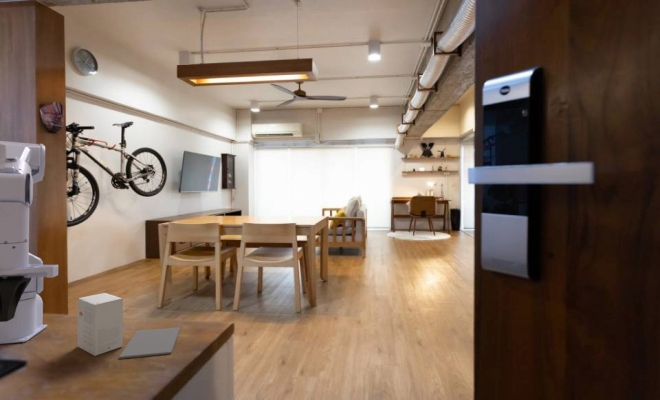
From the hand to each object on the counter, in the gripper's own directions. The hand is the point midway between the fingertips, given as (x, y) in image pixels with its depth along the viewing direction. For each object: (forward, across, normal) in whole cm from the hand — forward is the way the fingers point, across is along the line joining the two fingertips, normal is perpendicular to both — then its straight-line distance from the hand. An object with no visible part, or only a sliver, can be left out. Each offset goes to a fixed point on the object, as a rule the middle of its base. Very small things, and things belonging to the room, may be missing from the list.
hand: (6, 319), depth 61 cm
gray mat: (+10, +21, +11) cm, 26 cm away
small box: (+11, +11, +11) cm, 19 cm away
